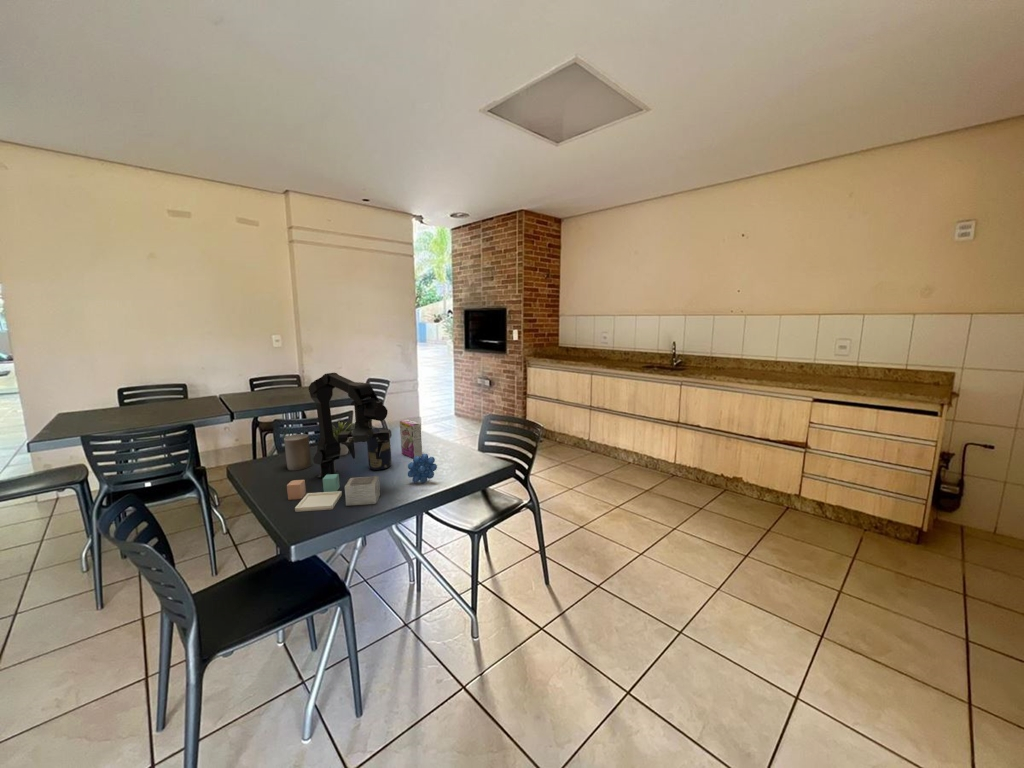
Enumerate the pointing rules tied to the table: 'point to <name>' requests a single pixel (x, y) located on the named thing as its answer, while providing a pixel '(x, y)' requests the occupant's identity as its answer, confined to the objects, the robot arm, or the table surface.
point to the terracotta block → (296, 489)
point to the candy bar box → (411, 438)
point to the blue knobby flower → (422, 468)
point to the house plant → (343, 447)
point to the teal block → (331, 483)
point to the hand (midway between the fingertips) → (366, 457)
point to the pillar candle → (297, 451)
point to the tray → (318, 501)
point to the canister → (385, 454)
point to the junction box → (362, 491)
